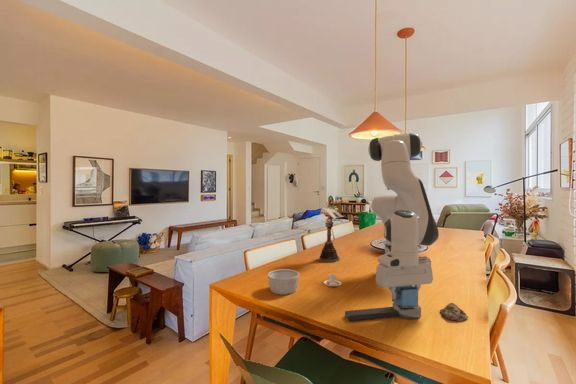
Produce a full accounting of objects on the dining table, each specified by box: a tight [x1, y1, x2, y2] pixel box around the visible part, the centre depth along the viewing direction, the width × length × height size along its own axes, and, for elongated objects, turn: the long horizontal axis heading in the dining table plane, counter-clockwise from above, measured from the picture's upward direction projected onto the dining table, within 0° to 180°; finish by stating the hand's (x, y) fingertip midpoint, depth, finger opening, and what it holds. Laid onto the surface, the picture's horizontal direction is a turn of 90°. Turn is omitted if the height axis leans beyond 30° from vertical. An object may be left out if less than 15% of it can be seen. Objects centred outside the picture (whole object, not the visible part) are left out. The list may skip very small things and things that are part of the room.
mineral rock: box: [439, 302, 469, 322], centre depth 93 cm, size 11×4×8 cm
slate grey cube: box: [391, 285, 419, 308], centre depth 95 cm, size 6×6×6 cm
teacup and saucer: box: [323, 273, 342, 287], centre depth 124 cm, size 9×8×4 cm
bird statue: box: [319, 201, 346, 263], centre depth 162 cm, size 17×13×35 cm
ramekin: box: [267, 268, 300, 296], centre depth 116 cm, size 13×13×7 cm
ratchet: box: [344, 302, 422, 323], centre depth 93 cm, size 26×9×6 cm, turn 100°
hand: (404, 297), depth 95 cm, fingers closed on slate grey cube, 6 cm apart
